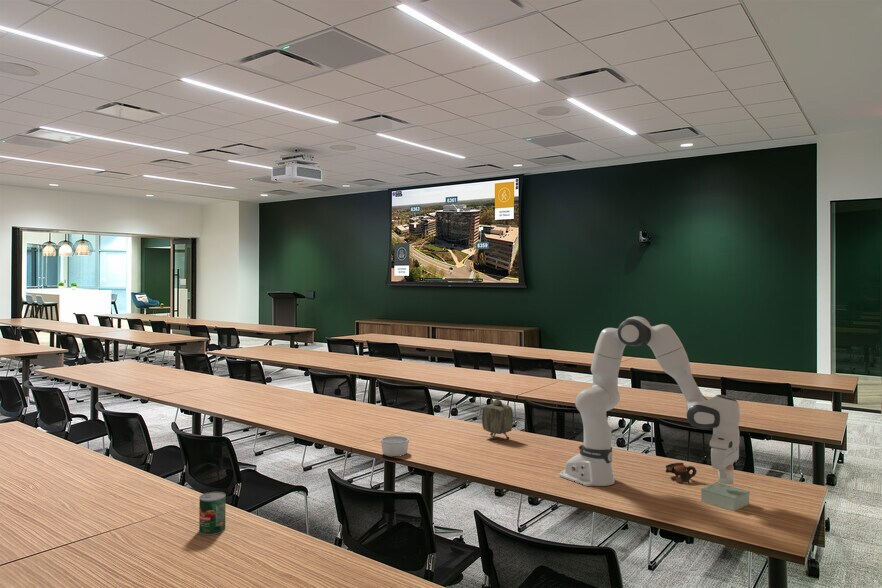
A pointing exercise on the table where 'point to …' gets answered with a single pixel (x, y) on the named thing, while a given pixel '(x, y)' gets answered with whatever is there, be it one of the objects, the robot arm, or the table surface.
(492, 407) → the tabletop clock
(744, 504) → the sage box
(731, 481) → the pink capped tube
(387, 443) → the ramekin
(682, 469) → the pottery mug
